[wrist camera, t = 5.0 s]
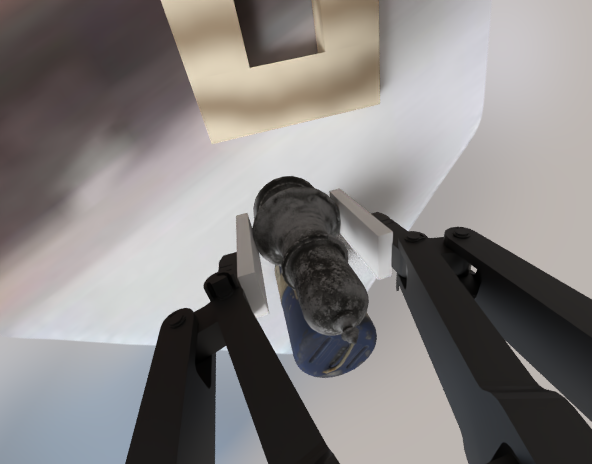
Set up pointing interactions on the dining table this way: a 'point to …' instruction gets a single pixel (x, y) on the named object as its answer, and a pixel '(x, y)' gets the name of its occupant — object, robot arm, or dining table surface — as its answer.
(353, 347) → the canister
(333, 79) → the socket
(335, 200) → the robot arm
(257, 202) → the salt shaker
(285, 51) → the dining table surface
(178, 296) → the dining table surface
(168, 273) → the dining table surface
